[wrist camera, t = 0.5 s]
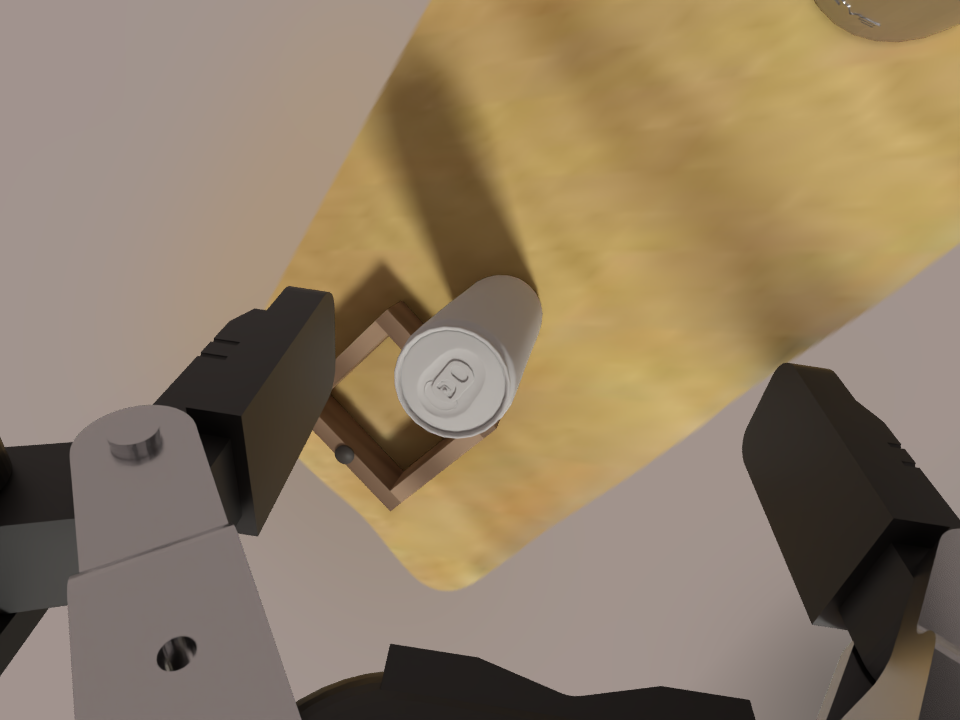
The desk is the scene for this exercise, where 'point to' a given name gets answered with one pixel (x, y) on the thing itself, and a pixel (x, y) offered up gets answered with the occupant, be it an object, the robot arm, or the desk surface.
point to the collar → (359, 446)
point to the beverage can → (469, 358)
